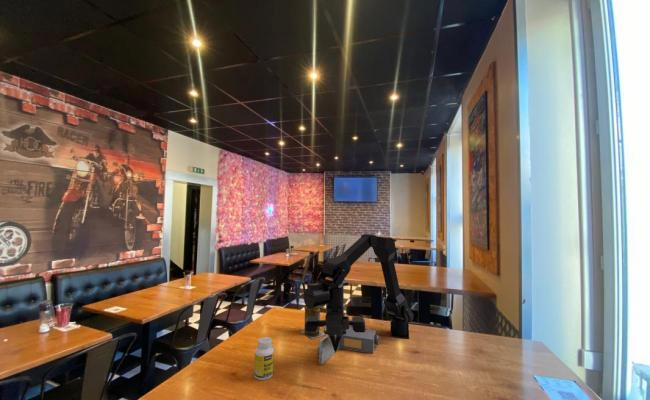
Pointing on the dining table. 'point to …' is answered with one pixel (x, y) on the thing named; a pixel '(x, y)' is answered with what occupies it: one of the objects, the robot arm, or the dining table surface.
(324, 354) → the side door
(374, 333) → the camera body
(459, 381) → the dining table surface
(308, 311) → the condiment
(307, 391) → the dining table surface
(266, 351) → the supplement bottle
